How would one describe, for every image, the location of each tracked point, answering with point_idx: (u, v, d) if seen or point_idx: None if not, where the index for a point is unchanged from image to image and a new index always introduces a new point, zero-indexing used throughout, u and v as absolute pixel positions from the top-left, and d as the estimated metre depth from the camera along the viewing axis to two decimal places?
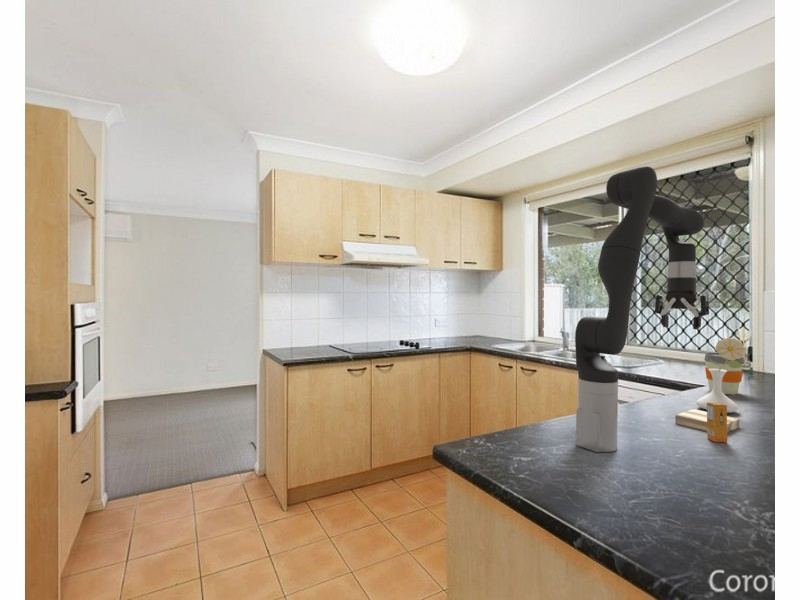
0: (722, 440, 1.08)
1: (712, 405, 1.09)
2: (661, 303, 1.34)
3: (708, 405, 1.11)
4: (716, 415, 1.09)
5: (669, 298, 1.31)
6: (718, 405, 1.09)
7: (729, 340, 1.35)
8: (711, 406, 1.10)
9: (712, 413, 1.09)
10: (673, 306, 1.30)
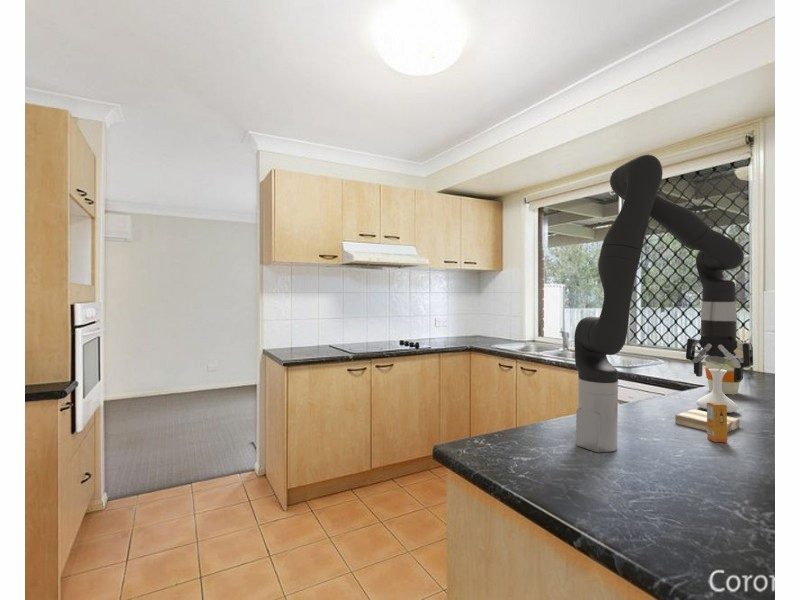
0: (722, 440, 1.08)
1: (712, 405, 1.09)
2: (693, 348, 1.15)
3: (708, 405, 1.11)
4: (716, 415, 1.09)
5: (703, 343, 1.11)
6: (718, 405, 1.09)
7: None
8: (711, 406, 1.10)
9: (712, 413, 1.09)
10: (708, 353, 1.11)
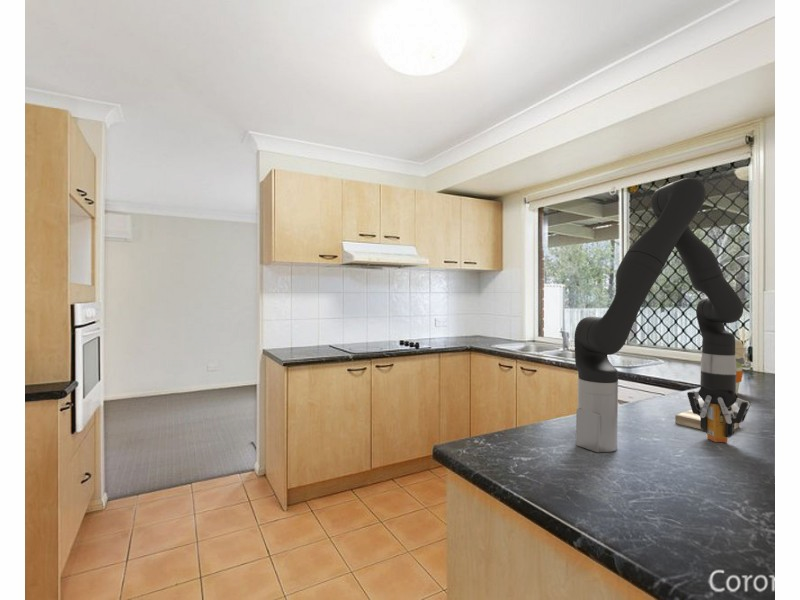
0: (722, 440, 1.08)
1: (712, 405, 1.09)
2: (696, 401, 1.14)
3: None
4: (716, 415, 1.09)
5: (703, 394, 1.12)
6: (718, 405, 1.09)
7: None
8: (711, 406, 1.10)
9: (712, 413, 1.09)
10: None
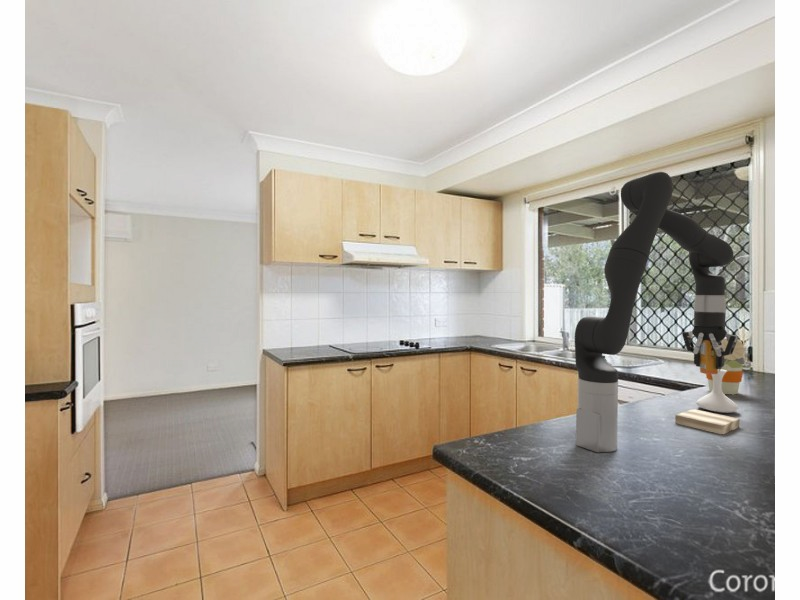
0: (713, 372, 1.21)
1: (704, 341, 1.22)
2: (690, 340, 1.27)
3: None
4: (708, 350, 1.21)
5: (696, 332, 1.24)
6: (709, 341, 1.21)
7: None
8: (703, 342, 1.22)
9: (704, 348, 1.22)
10: None
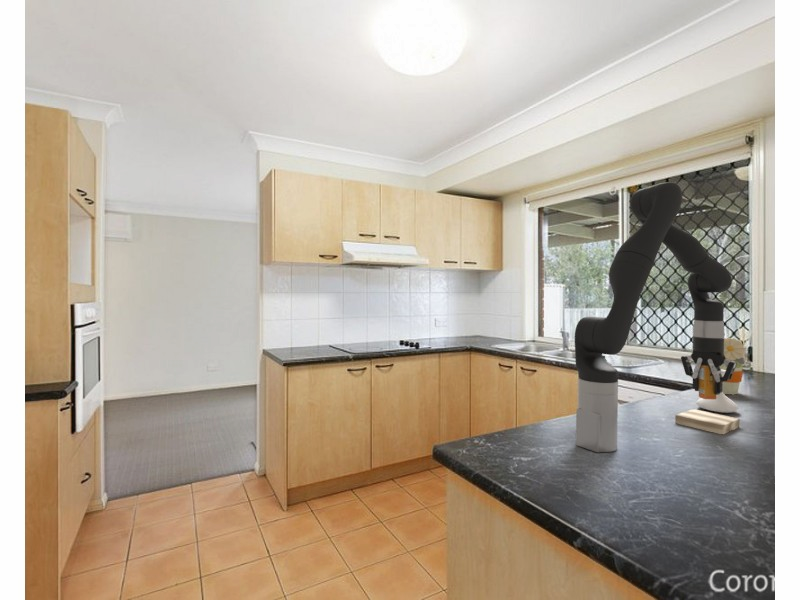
0: (712, 397, 1.21)
1: (703, 366, 1.22)
2: (689, 364, 1.27)
3: None
4: (707, 375, 1.21)
5: (695, 357, 1.24)
6: (708, 366, 1.22)
7: (729, 340, 1.36)
8: (702, 367, 1.23)
9: (703, 373, 1.22)
10: None
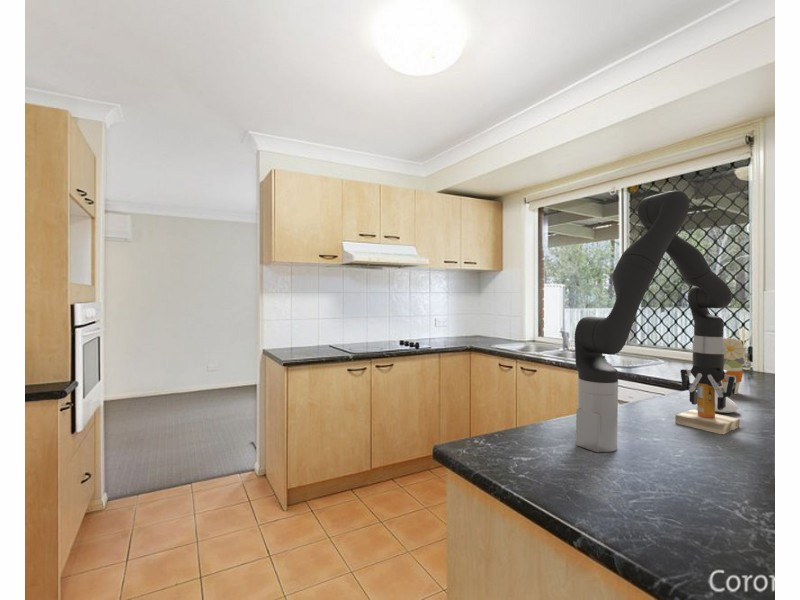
0: (710, 416, 1.21)
1: (702, 385, 1.22)
2: (687, 377, 1.27)
3: (698, 385, 1.24)
4: (705, 393, 1.22)
5: (695, 372, 1.24)
6: (707, 385, 1.22)
7: (729, 340, 1.35)
8: (701, 386, 1.23)
9: (702, 391, 1.22)
10: (701, 382, 1.23)
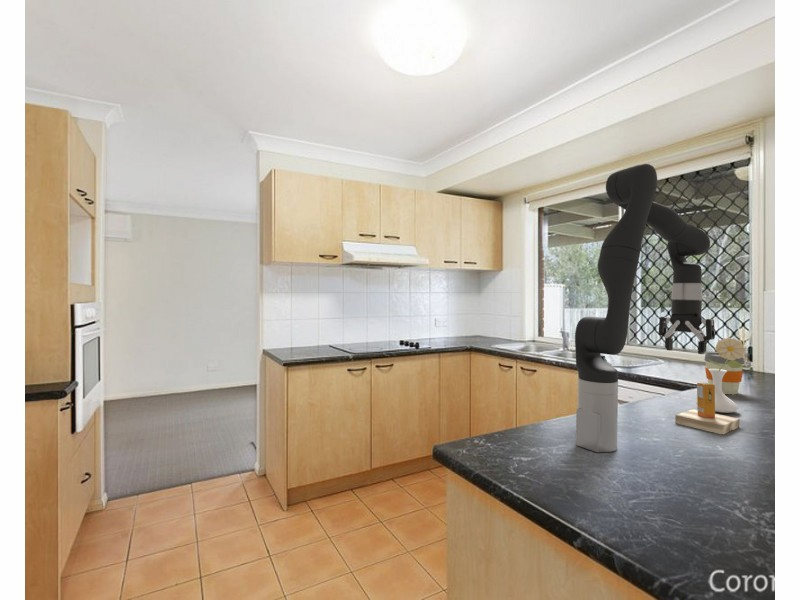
0: (710, 416, 1.21)
1: (702, 385, 1.22)
2: (665, 325, 1.29)
3: (698, 385, 1.24)
4: (705, 393, 1.22)
5: (673, 320, 1.26)
6: (707, 385, 1.22)
7: (729, 340, 1.36)
8: (701, 386, 1.23)
9: (702, 391, 1.22)
10: (677, 329, 1.25)
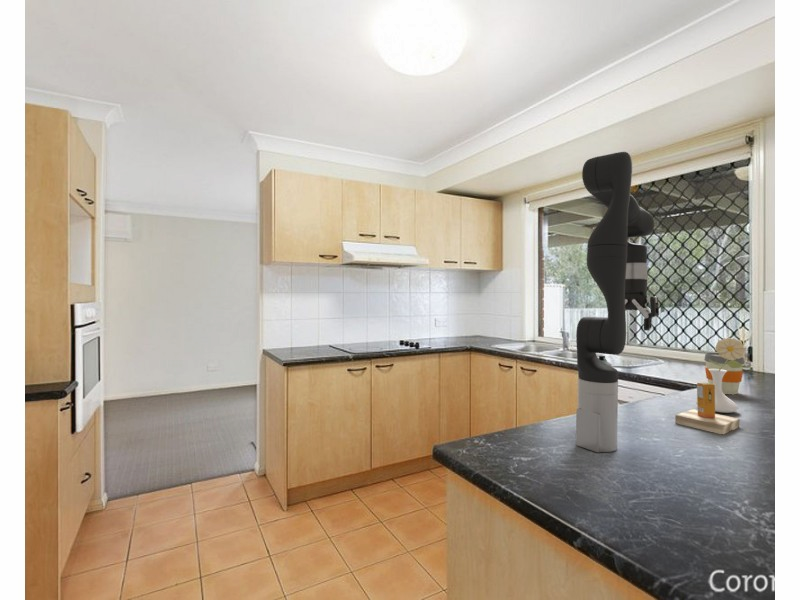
0: (710, 416, 1.21)
1: (702, 385, 1.22)
2: None
3: (698, 385, 1.24)
4: (705, 393, 1.22)
5: None
6: (707, 385, 1.22)
7: (729, 340, 1.35)
8: (701, 386, 1.23)
9: (702, 391, 1.22)
10: (625, 307, 1.30)
